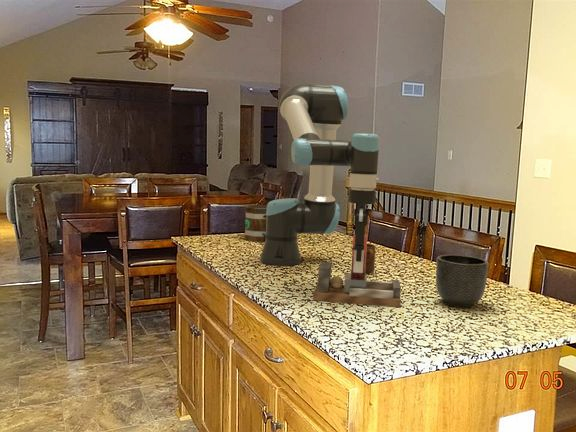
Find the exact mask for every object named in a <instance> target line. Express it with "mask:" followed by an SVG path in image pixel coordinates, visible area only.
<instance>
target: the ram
mask: <svg viewBox="0 0 576 432" xmlns="http://www.w3.org/2000/svg"><path fill="white" fill-rule="evenodd" d="M355 235H356V234H353V236H352V247H353V248H354V246H355ZM367 244H368V235H366V234H364V260H363V273H356V272H353V265H354V250H352V249H351V250H352V251H351V269H350V272H347V273H345V278H344V285H345V290H344V293H349V291H350V288H361V289H366V283H367V279H368V274H365V268H366V251H367Z"/></svg>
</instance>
